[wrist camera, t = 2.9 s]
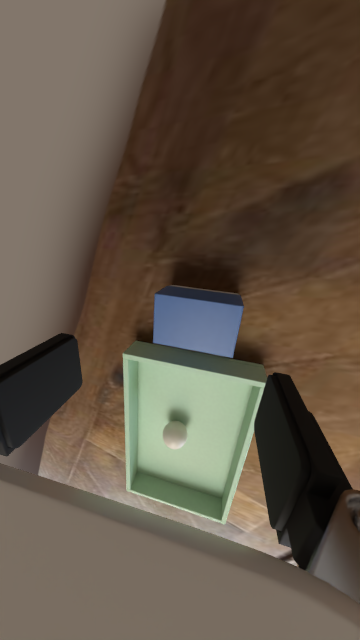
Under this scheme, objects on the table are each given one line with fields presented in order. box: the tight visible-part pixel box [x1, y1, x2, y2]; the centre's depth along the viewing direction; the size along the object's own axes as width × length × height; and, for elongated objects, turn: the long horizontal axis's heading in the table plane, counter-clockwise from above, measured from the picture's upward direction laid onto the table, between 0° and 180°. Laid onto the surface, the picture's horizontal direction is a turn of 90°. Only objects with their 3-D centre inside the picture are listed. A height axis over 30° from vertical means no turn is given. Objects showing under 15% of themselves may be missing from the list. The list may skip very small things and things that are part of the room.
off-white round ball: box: [163, 421, 187, 449], centre depth 23 cm, size 3×3×3 cm
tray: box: [123, 341, 267, 524], centre depth 24 cm, size 23×14×3 cm, turn 175°
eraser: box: [153, 285, 244, 358], centre depth 17 cm, size 4×7×5 cm, turn 85°
